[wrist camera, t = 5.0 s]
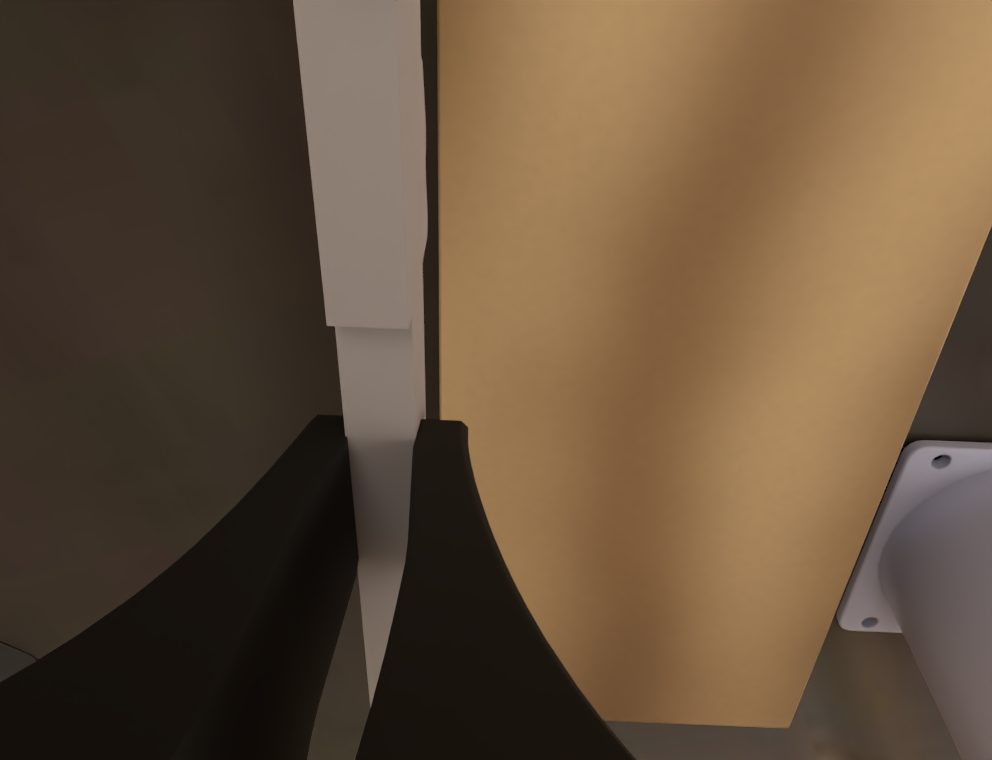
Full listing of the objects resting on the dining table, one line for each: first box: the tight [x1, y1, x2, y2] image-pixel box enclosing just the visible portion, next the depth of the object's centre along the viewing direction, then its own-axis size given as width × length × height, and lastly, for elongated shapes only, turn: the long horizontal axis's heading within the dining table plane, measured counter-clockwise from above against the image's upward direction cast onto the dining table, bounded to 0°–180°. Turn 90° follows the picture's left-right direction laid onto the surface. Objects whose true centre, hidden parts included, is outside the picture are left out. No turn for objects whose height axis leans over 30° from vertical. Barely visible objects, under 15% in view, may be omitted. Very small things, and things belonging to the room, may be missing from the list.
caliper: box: [293, 0, 428, 708], centre depth 12 cm, size 20×1×6 cm, turn 178°
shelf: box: [437, 0, 992, 728], centre depth 18 cm, size 10×26×5 cm, turn 178°
